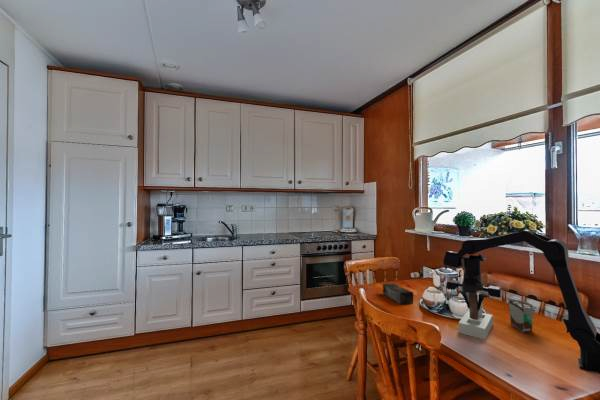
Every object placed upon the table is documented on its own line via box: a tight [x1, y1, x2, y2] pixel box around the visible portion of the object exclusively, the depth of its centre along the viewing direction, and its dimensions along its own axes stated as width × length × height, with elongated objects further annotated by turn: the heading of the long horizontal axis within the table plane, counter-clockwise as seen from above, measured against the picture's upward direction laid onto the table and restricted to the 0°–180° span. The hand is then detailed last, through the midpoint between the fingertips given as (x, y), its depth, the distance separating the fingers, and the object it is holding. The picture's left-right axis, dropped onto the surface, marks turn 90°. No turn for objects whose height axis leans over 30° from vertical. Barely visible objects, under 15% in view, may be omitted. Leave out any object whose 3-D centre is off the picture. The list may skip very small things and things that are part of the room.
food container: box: [508, 299, 536, 334], centre depth 116 cm, size 12×6×10 cm, turn 168°
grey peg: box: [478, 304, 483, 318], centre depth 120 cm, size 3×3×10 cm
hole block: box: [458, 309, 494, 340], centre depth 116 cm, size 18×9×4 cm, turn 138°
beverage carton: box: [382, 282, 414, 305], centre depth 155 cm, size 8×19×7 cm, turn 12°
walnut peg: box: [468, 292, 479, 320], centre depth 113 cm, size 3×3×10 cm
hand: (473, 309), depth 113 cm, fingers closed on walnut peg, 3 cm apart
